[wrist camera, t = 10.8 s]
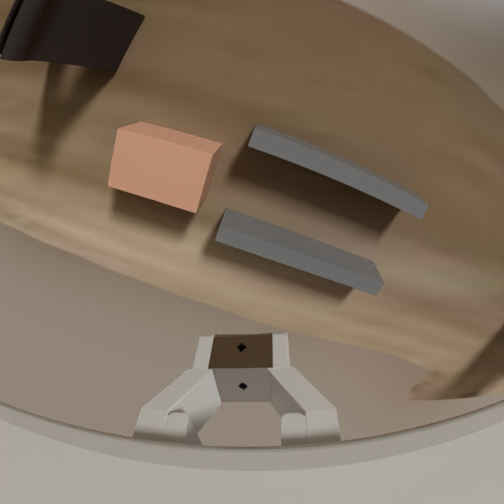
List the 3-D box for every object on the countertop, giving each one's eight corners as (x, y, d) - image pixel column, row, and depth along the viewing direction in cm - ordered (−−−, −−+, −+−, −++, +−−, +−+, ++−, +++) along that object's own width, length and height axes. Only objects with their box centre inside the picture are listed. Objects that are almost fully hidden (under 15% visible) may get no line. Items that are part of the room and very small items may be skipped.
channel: (411, 190, 27) (429, 205, 24) (366, 273, 32) (376, 295, 29) (256, 123, 26) (254, 127, 22) (221, 222, 30) (214, 240, 27)
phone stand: (53, 47, 22) (-32, 47, 11) (78, -4, 19) (-1, -25, 9) (116, 72, 24) (33, 72, 13) (146, 16, 21) (74, -16, 10)
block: (222, 143, 27) (212, 154, 22) (207, 193, 29) (195, 213, 25) (141, 121, 26) (117, 128, 22) (131, 170, 28) (107, 186, 24)
